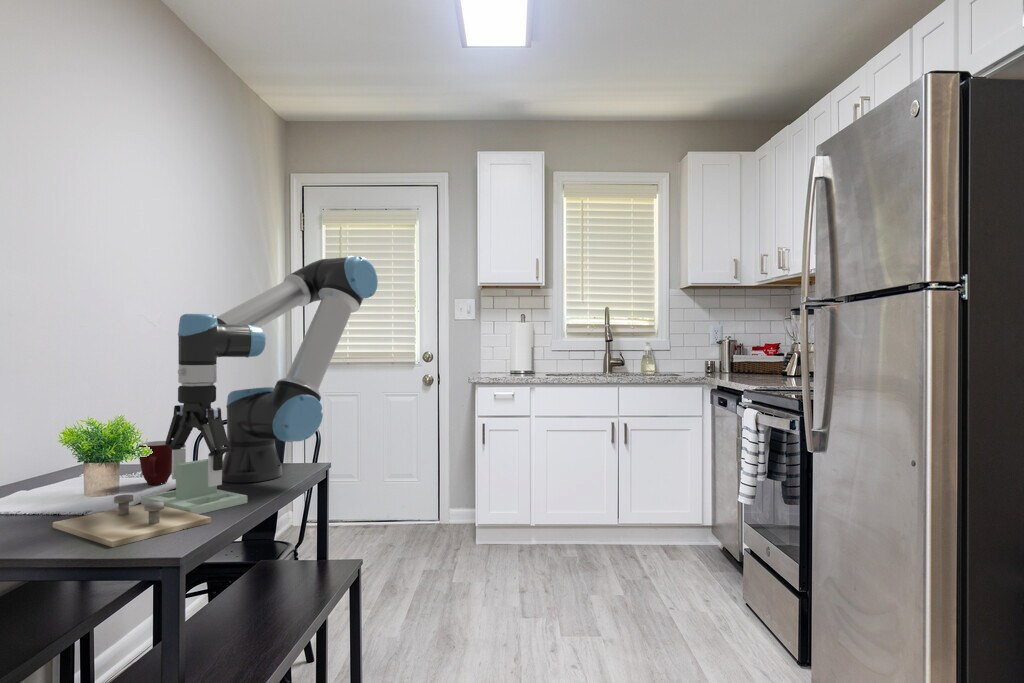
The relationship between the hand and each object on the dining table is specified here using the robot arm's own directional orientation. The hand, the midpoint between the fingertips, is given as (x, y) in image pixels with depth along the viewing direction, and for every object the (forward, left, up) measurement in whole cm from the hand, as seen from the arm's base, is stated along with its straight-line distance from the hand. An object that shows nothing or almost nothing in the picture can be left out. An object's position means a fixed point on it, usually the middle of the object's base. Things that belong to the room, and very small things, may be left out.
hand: (196, 482), depth 139 cm
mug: (-6, -26, -5) cm, 27 cm away
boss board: (+16, +6, -5) cm, 18 cm away
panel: (0, 0, -5) cm, 5 cm away
